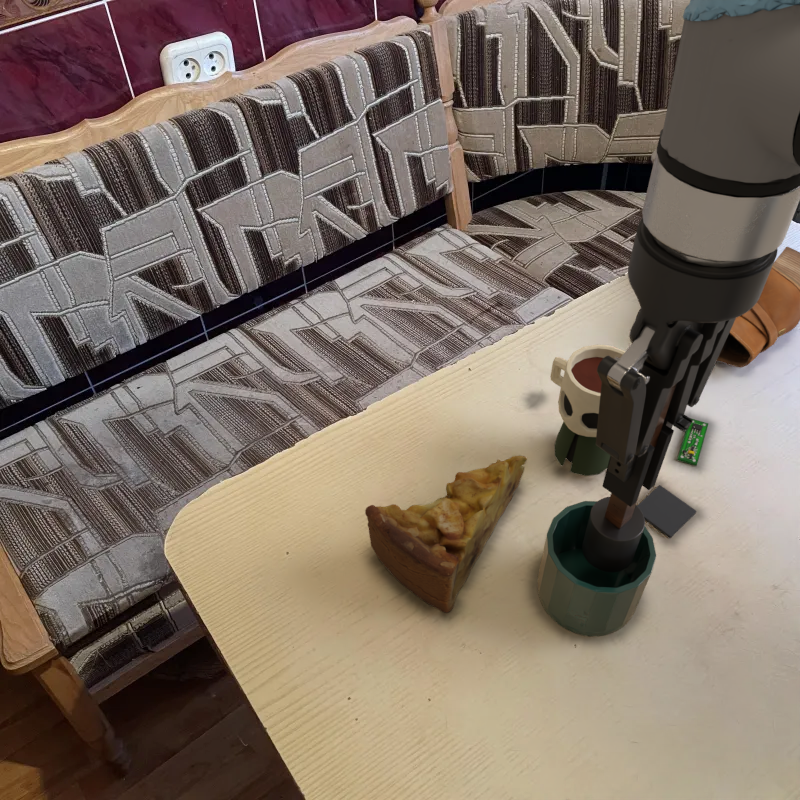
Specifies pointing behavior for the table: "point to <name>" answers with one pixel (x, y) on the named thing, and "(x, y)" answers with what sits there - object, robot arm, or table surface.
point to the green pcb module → (693, 442)
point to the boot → (767, 313)
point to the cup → (589, 578)
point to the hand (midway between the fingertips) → (628, 485)
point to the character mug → (581, 408)
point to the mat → (665, 511)
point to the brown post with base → (617, 524)
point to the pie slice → (444, 531)
